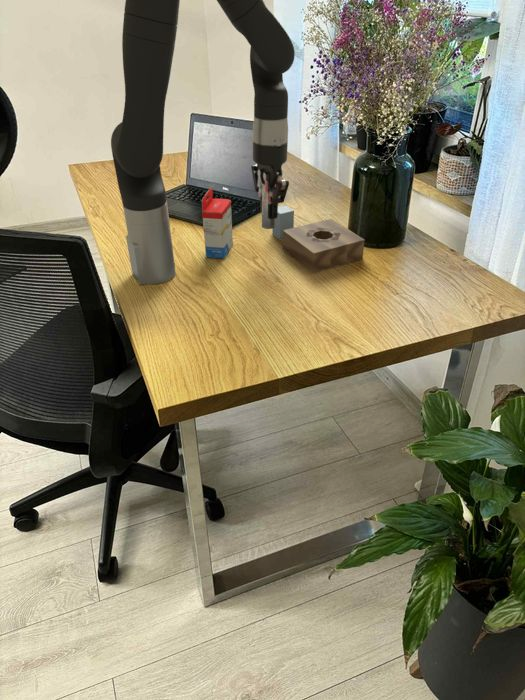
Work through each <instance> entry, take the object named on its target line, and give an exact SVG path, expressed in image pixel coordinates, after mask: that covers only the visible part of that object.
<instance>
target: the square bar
mask: <svg viewBox="0 0 525 700" xmlns="http://www.w3.org/2000/svg"><path fill="white" fill-rule="evenodd" d="M294 218H295V210H293V208H291V207H289V206H287V205H282V206H278V215H277V218H276V219H275V228H272V229H271V231H272V232H271V233H272V235H273V236H274V237H275V238H277V239H278V240H279V241H280V240H281V241H282V240H283V230H286V229H290V228H295V223H294V222H295V221H294V220H295V219H294Z"/></svg>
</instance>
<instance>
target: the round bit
mask: <svg viewBox="0 0 525 700" xmlns="http://www.w3.org/2000/svg"><path fill="white" fill-rule="evenodd" d="M270 189H275V187H272V188H270ZM273 194H274V193H272V198H273ZM261 227H262V228H263V229H266V230H270V229H271V230H272V228H275V219H269V218H268V194H267V193H266V192H265V184H262V213H261Z"/></svg>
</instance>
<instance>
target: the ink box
mask: <svg viewBox="0 0 525 700" xmlns="http://www.w3.org/2000/svg"><path fill="white" fill-rule="evenodd" d="M213 192H214V191H213V187H212V186H210V188H209V189H208V190H207V192H206V193H205V194H204V195H203V197H202V199H201V216H202V225H203V236H204V237H203V238H204V247H205V257H206V258H213V259H226V257H227V255H228V253H229V252H230V250H231V248H232V247H233V245H234V243H233V242H234V241H233V240H234V239H233V221H232V220H233V219H232V218H233V217H232V202H231V199H227V198H214V197H213V196H214V195H213Z"/></svg>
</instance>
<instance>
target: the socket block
mask: <svg viewBox="0 0 525 700" xmlns="http://www.w3.org/2000/svg"><path fill="white" fill-rule="evenodd" d="M282 250H283V251H285V253H287V254H288V255H290V256H291V257H292V258H294V259H295V260H296V261H297V262H298V263H300V264H301V265H302V266H303V267H305V268H306V269H307V270H309V271H310V272H311V273H312V274H314V273H318V272H322V271H324V270H328V269H332V268H335V267H339V266H342V265H346V264H350V263H352V262H353V263H355V262H357V261H361V260H363V259H364V252H365V251H364V250H365V239H364V238H363V237H361V236H359V235H358V234H356V233H354V232H353V231H352V230H350V229H348V228H347V227H345V226H344V225H343V224H341V223H339V222H338V221H336V220H334V219H333V218H329V219H324V220H320V221H316V222H312V223H307V224H303V225H299V226H296V227H295V226H294V228H290V229H286V230H283V239H282Z"/></svg>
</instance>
